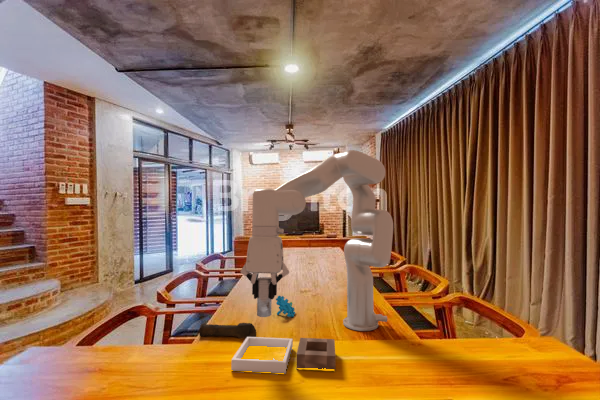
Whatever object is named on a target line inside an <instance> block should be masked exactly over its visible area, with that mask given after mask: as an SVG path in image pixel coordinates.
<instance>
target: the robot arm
mask: <svg viewBox="0 0 600 400" xmlns="http://www.w3.org/2000/svg"><path fill="white" fill-rule="evenodd" d="M385 177H386V169H385V165H384V164H383V162H381V160H380V159H377V158H375V157H373V156H371V155H369V154H366V153H364V152H362V151H359V150H355V149H350V150H346V151H342V152H337V153H334V154H332V155H330V156H328V157H327V158H325V159H324V160H323V161H321V162H319V163H318V164H317V165H316V166H315V165H314V167H313V168H311V169H310V170H307V171H306V172H304V173H302V174H300V175H298V176H297V177H295V178H293V179H290V180H289V181H286V182H285V183H283V184H282V185H280V186H279V187H277V188H275V189H272V188H259V189H255V190H254V191H253V193H252V212H251V213H252V219H251V220H252V223H251V225H252V228H251V231H252V232H251V236H250V237H249V241H248V245H247V252H246V259H245V260H246V261H245V263H244V265H243V267H242V268H241V270H240V274H242V275H243V276H244V277H246V279H248V281H249V282H250V284H252V285H251V287H252V288H251V289H252V290H251V291H252V292H251V294H252V295H253V299H254V300H257V283H258V278H259V275H260V274H270V277H271V278H272V284H271V285H270V299H272V300H273V299H275V297H276V296H278V295H277V294H278V292H277V291H278V290H277V289H278V283H279V282H280V280H282V279H283V278H284V277H287V275H289V274H290V270H289V268H288V267H287V265H286V263H285V262H284V246H283V240H282V239H283V238H282V237H281V236H279V235H280V234H284V228H281V227H280V226H279V225H280V220H279V218H280V216H295V215H298V214H300V213H302V212H303V211H304V210H305V208H306V206H307V205H306V203H307V201H306V198H308V197H312V196H315V195H319V194H320V193H323V192H326V191H327V190H328V189H329V188H330V187H331V186H333V185H334V184H335V183H336V182H338V181H339V180H341V179H342V178H343V180H344V182H345V184H346V185H347V186H348V188H349V189H350V192H351V194H352V199H353V200H352V209H351V218H350V219H351V220H350V228H351V231H352V232H353V233H354V234H356V235H361V236H372V238H359V237H355V238H350V239H349V240H347V241H346V243H345V244H344V248H343V254H344V255H343V256H344V260H345V265H346V298H347V299H346V307H347V309H346V310H347V313H346V314H347V317H345V318H344V319H342V322H343V323H342V325H344V327H346V328H347V329H350V330H353V331H357V332H358V331H360V332H369V331H374V330H377V328H378V327H379V322H386V323H387V322H388V316H387V315H383V314H381V313H379V314H376V313H375V311H374V276H373V272H372V269H371V267H373V268H374V267H375V268H385V267H386V266H387V265H388V264H389V263H390V261H391V256H392V250H393V249H392V246H393V235H394V221H393V217H392V215H391V214H390V213H389V211H388V210H385V209H376V202H377V200H376V199H377V198H376V195H375V193H374V191H373V190H372V188H371V187H370V185H376V184H379V183H381V182H382V181H383V180H384V179H385ZM281 271H282V272H281ZM280 272H281V273H280Z"/></svg>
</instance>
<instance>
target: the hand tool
mask: <svg viewBox="0 0 600 400" xmlns="http://www.w3.org/2000/svg"><path fill="white" fill-rule="evenodd" d="M198 332H199V333H198V335H199V337H202V336H203V337H206V336H209V337H210V336H213V337H214V336H216V337H217V336H219V337H237V338H238V339H246V338H247V337H257V329H256V327H255V326H254V325H253V323H250V322H248V323H247V322H240V323H238V324H236V325H235V324H230V325H229V324H210V323H209V324H206V323H205V322H204V323H201V324H200V326H199V330H198Z"/></svg>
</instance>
